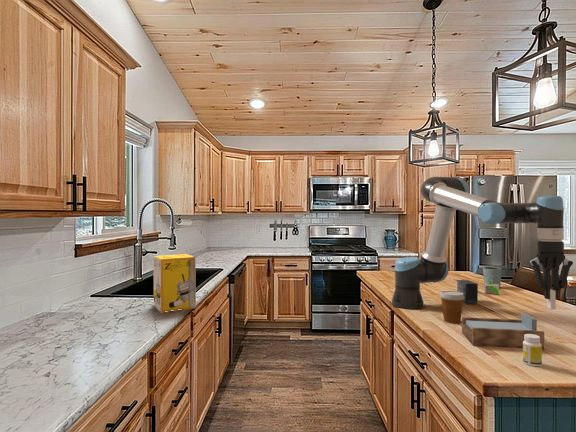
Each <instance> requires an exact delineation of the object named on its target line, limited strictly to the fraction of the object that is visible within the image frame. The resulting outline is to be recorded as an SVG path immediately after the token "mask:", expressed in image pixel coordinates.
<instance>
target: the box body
mask: <svg viewBox="0 0 576 432" xmlns="http://www.w3.org/2000/svg"><path fill="white" fill-rule="evenodd" d="M466 320H469V321H490V322H512V323H522V319H512V318H511V319H510V318H489V317H488V318H487V317H469V316H468V317H467V316H461V333H462V335H463V337H465V338H466V339H467V341H469V343H470V344H471V345H472V346H474V347H489V348H490V347H491V348H506V349H520V350H521V349H522V350H523V341H524V335H525V334H534V335H538V336H540V343H541V345H542V351H543V350H544V351H545V331H544V330H537V331H535V330H515V329H495V328H475V327H472V329H471V328H470V327H469V326H468V325H467V324H466Z"/></svg>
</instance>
